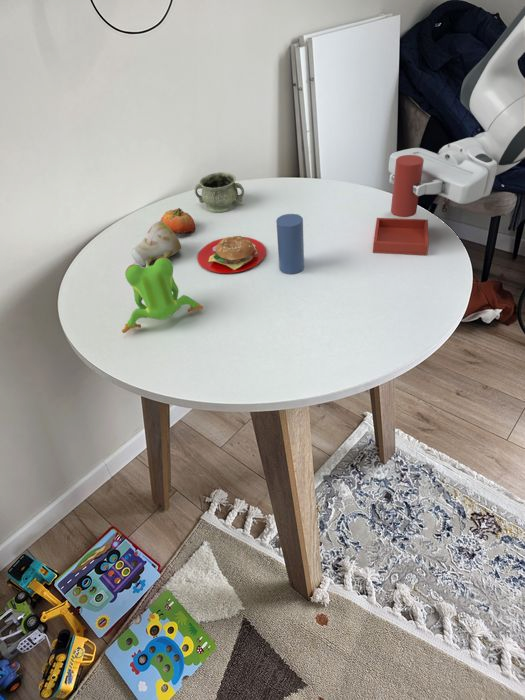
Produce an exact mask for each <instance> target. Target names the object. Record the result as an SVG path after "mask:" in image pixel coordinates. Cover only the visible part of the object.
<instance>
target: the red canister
mask: <svg viewBox="0 0 525 700" xmlns="http://www.w3.org/2000/svg"><path fill="white" fill-rule="evenodd" d="M423 162H424V159H423V158H422V157H420V156H416V155H404V156H400V157H398V158H397V159H396V166H395V175H394V184H392V194H391V206H390V213H391V214H392V215H393V216H395V217H397V218H410V217H413V216H415V215H416V214H417V211H418V203H419V197H420V196H417V195H415V194H413V193H412V190H413V185H414V184H417V183H419V182H421V176H422V169H423Z"/></svg>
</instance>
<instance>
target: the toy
mask: <svg viewBox="0 0 525 700" xmlns="http://www.w3.org/2000/svg"><path fill="white" fill-rule="evenodd" d="M124 273H125V274H124V275H125V279H126V281H127V283H128V284H129V285H130V286H131V287H132V290H133V296H134V302H135V304H136V305H137V307H138V308H136V309H134V310H133V312H132V313H131V315H130V317H129V319H128V320H127V323H125V324H124V325H125V327H124V328H122V329H121V333H122V334H125V333H127V332H128V331H130V330H131V329H136V328H138V329H141V328H142V324H141V323H137V321H138V320H140V319H141V318H150V319H155V320H165V319H169V318H170V317H171V316H173V314H174V313H175V312H176V311H177V310H178V309H179V308H181V307H182V306H185V305H189V306H190V307H189V308H188V309H187V310H186V311H187V313H188V314H190V313H191V312H193V311H196V310H201V309H202V310H203V309H204V305H201V304H200V303H198V302H197V301H196V300H194V299H193V298H191V297H189V296H188V295H185V294H182V295H181V296H180V297H179V292H180V291H179V287H178V285H177V283H176V281H175V279H174V276H173V274H174V266H173V263H172V261H171V260H170V258H166V257H159V258H158V259H156V260H154V264H151V265H150V266H148V267H146V266H144V267H143V266H142V267H141V265H139V264H135V263H133V264H130V265H129V266H128V267H127V268H126V270H125V272H124ZM142 301H143V302H144V303H143V302H142Z"/></svg>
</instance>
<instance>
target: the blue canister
mask: <svg viewBox="0 0 525 700" xmlns="http://www.w3.org/2000/svg"><path fill="white" fill-rule="evenodd" d="M275 221H276V222H275V223H276V237H277V251H278V267H279V270H280V272H281V273H283V274H286V275H295V274H299V273H301V272H302V271H303V270H304V269H305V247H304V246H305V244H304V242H305V241H304V218H303V217H302V215H300V214H297V213H286V214H282V215H280V216H278V217H277V218H276V220H275Z"/></svg>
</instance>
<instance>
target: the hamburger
mask: <svg viewBox="0 0 525 700" xmlns="http://www.w3.org/2000/svg"><path fill="white" fill-rule="evenodd" d="M266 253H267V248H266V247H265V245H264V243H262V242H261V241H260V240H257V239H255V238H252V237H249V236H248V237H247V236H242V235H234V236H227V237H222V238H219V239H216V240H213V241H211V242H209V243H207V244H206V245H205V246H203V247H202V248H201V249H200V250H199V252H198V253H197V263H198V264H199V265H200V266H201V267H202V268H203V269H205V270H207V271H209V272H213V273H219V274H233V273H238V272H245V271H247V270H249V269H252V268H253V267H256V266H257V265H259V264H260V263H261V262H262V261H263V260H264V259H265V257H266V255H267V254H266Z"/></svg>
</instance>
